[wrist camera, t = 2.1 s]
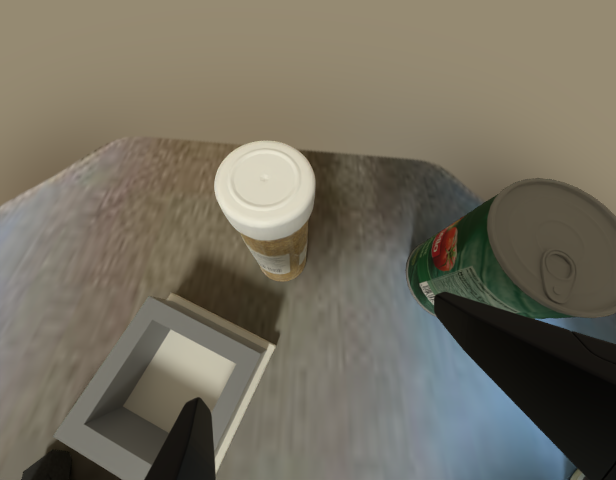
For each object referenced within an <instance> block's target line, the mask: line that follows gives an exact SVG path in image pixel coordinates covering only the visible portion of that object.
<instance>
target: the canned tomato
mask: <svg viewBox="0 0 616 480" xmlns="http://www.w3.org/2000/svg"><path fill="white" fill-rule="evenodd" d="M406 279H407V283H408V287H409V289H410V291H411V293H412V295H413V297H414V298H415V300H416V301H417V302H418V304H419V305H420V306H421V307H422V308H423V309H425V310H426V311H427V312H429V313H430V314H431V315H433V316H435V317H437V316H436V315H435V312H434V296H435V295H436V294H439V293H441V292H449V293H452V294H455V295H459V296H462V297H465V298H468V299H471V300H475V301H478V302H481V303H484V304H487V305H491V306H494V307H497V308H500V309H503V310H507V311H510V312H513V313H516V314H519V315H522V316H526V317H529V318H532V319H535V318H538V319H545V318H567V317H584V318H596V317H604V316H609V315H612V314H614V313H616V216H615V215H614V214H613V213H612V212H611V211H610V210H609V209H608V208H607V207H606V206H604V205H603V204H602V203H601V202H599V201H598V200H597V199H595V198H594V197H593V196H591V195H589V194H588V193H586V192H584V191H582V190H581V189H579V188H577V187H574V186H572V185H569V184H567V183H564V182H560V181H556V180H552V179H541V178H536V179H526V180H522V181H519V182H515V183H513V184H512V185H510V186H508V187H506V188H505V189H503V190H502V191H501V192H500V193H499V194H498V195H496V196H495V197H493V198H491V199H490V200H488V201H486V202H484V203H483V204H482V205H480V206H479V207H477V208H475V209H474V210H473V211H471V212H469V213H468V214H467V215H465V216H464V217H462V218H460V219H459V220H457V221H456V222H454V223H453V224H451V225H450V226H448V227H447V228H445V229H444V230H442V231H441V232H439V233H437V234H436V235H435V236H433V237H432V238H430V239H428V240H427V241H426V242H424V243H422V244H420V245H419V246H418V247H416V248H415V249H414V250H413V252H412V253H411V255H410V256H409V259H408V262H407V266H406Z"/></svg>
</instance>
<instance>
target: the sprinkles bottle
mask: <svg viewBox="0 0 616 480" xmlns="http://www.w3.org/2000/svg"><path fill="white" fill-rule="evenodd" d="M214 190H215V195H216V198H217V201H218V203H219V205H220V207H221V209H222V211H223V212H224V214H225V216H226V217H227V219H228V221H229V222H230V223H231V225H232V226H233V227H234V228H235V229H236V230H238V231H239V232H240V233H241V235H242V238H243V240H244V242H245V243H246V245H247V247H248V248H249V250H250V251H251V253H252V254H253V256H254V258H255V259H256V261H257V262H258V264H259V266H260V268H261V270H262V271H263V273H264V274H265V275H266V276H268V277H269V278H270V279H272V280H276V281H289V280H291V279H294V278H296V277H297V276H298V275H299V274H300V273H301V272H302V271H303V268H304V267H305V264H306V251H307V241H308V219H309V217H310V215H311V212H312V210H313V206H314V199H315V175H314V172H313V169H312V167H311V165H310V163H309V161H308V160H307V159H306V157H305V156H304V155H303V154H301V153H300V152H299V151H298V150H296V149H295V148H293V147H291V146H289V145H287V144H284V143H281V142H277V141H256V142H251V143H248V144H245V145H242V146H240V147H239V148H237V149H235V150H234V151H233V152H231V153H230V154H229V155H228V156H227V157H226V158H225V159H224V160H223V162H222V163H221V164H220V166H219V168H218V170H217V173H216V176H215V183H214Z"/></svg>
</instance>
